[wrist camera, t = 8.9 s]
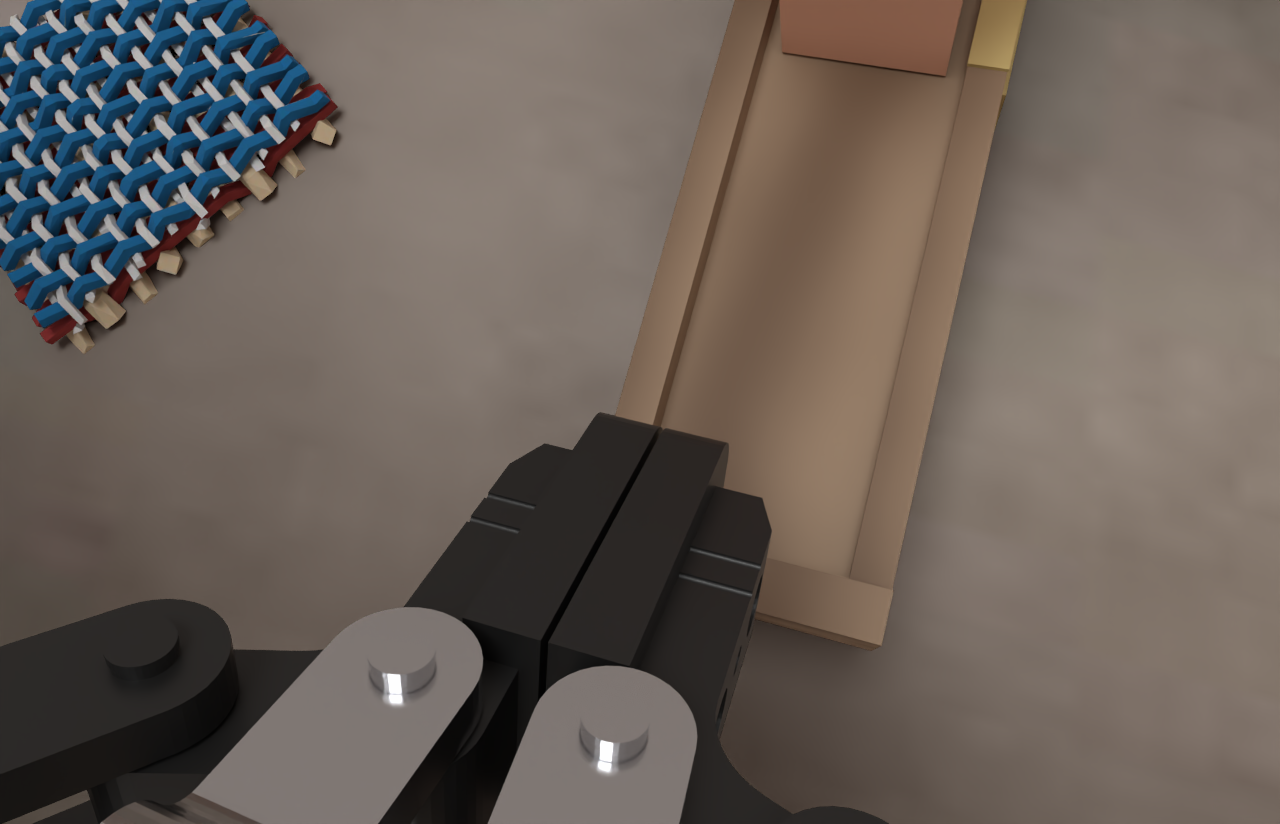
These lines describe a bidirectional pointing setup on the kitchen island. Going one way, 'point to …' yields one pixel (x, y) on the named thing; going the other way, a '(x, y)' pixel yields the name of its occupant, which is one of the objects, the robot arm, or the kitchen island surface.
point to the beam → (821, 295)
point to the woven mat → (135, 143)
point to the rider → (873, 31)
